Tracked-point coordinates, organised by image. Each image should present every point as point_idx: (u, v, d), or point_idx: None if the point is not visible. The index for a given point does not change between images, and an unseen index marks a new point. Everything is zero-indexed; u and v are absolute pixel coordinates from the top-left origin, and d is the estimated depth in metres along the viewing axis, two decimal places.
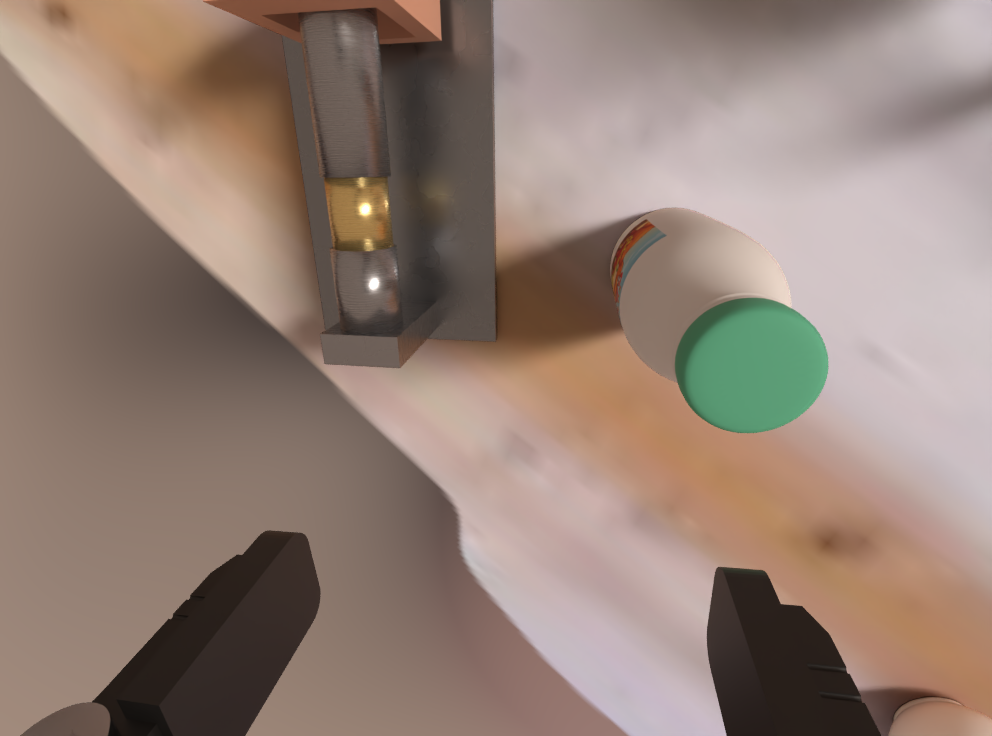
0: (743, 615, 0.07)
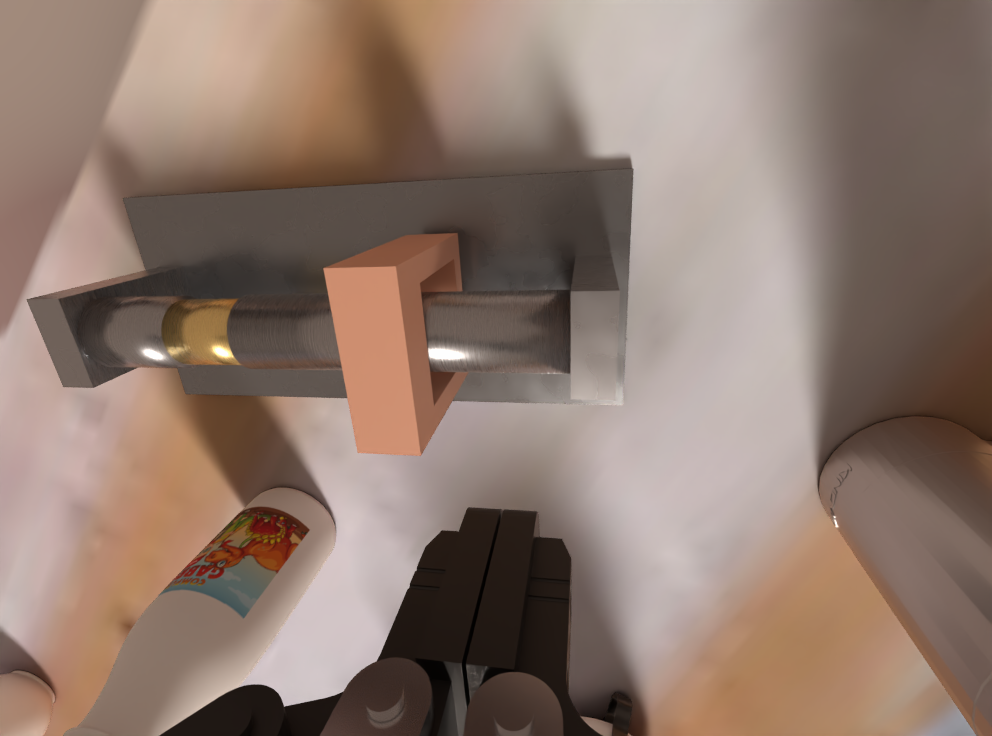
0: (500, 542, 0.09)
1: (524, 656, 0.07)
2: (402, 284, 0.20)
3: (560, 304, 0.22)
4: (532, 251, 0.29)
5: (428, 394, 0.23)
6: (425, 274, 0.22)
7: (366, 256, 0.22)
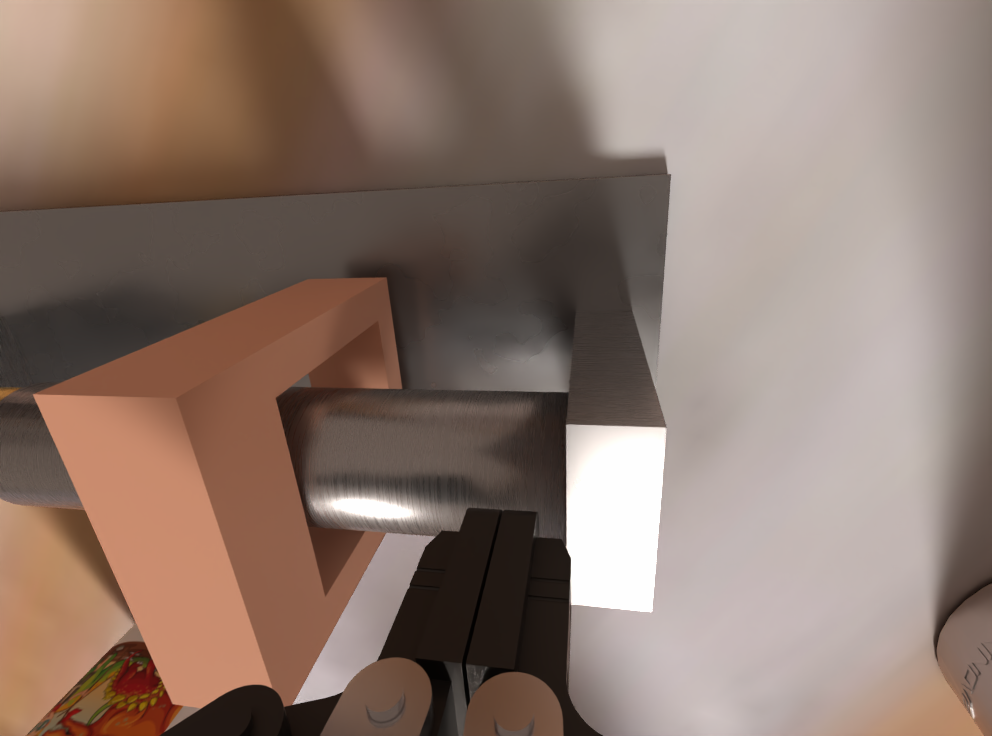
0: (500, 542, 0.09)
1: (524, 656, 0.07)
2: (208, 426, 0.09)
3: (546, 433, 0.12)
4: (508, 303, 0.18)
5: (307, 590, 0.13)
6: (293, 375, 0.12)
7: (172, 346, 0.11)
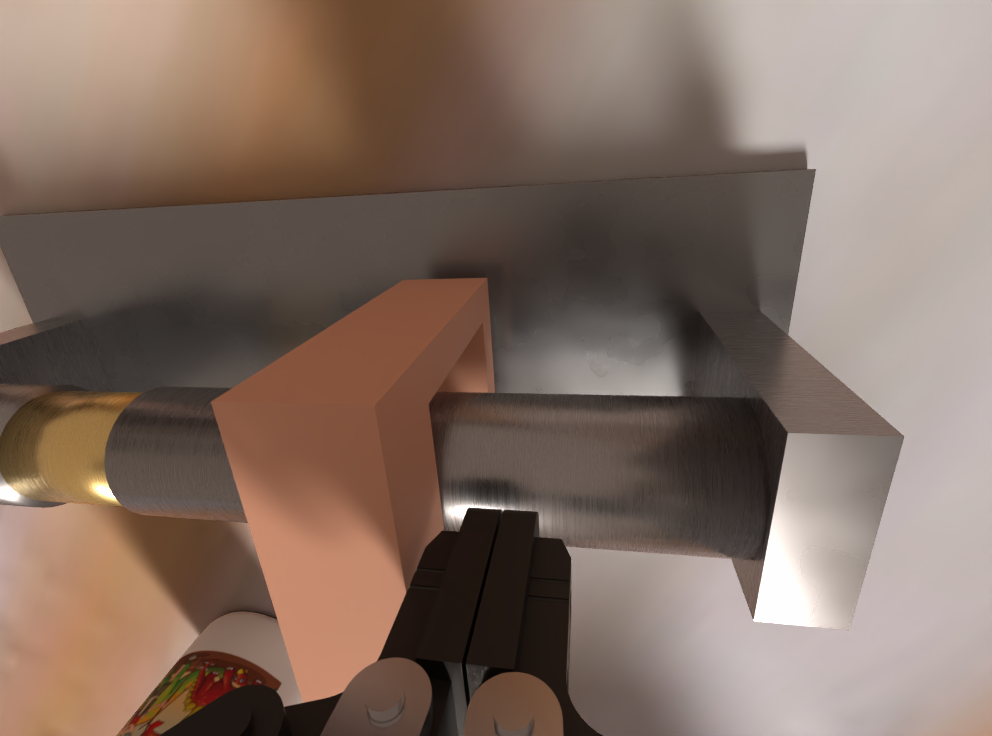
0: (500, 542, 0.09)
1: (524, 656, 0.07)
2: (391, 435, 0.09)
3: (739, 442, 0.11)
4: (627, 304, 0.18)
5: None
6: (438, 380, 0.11)
7: (320, 350, 0.11)
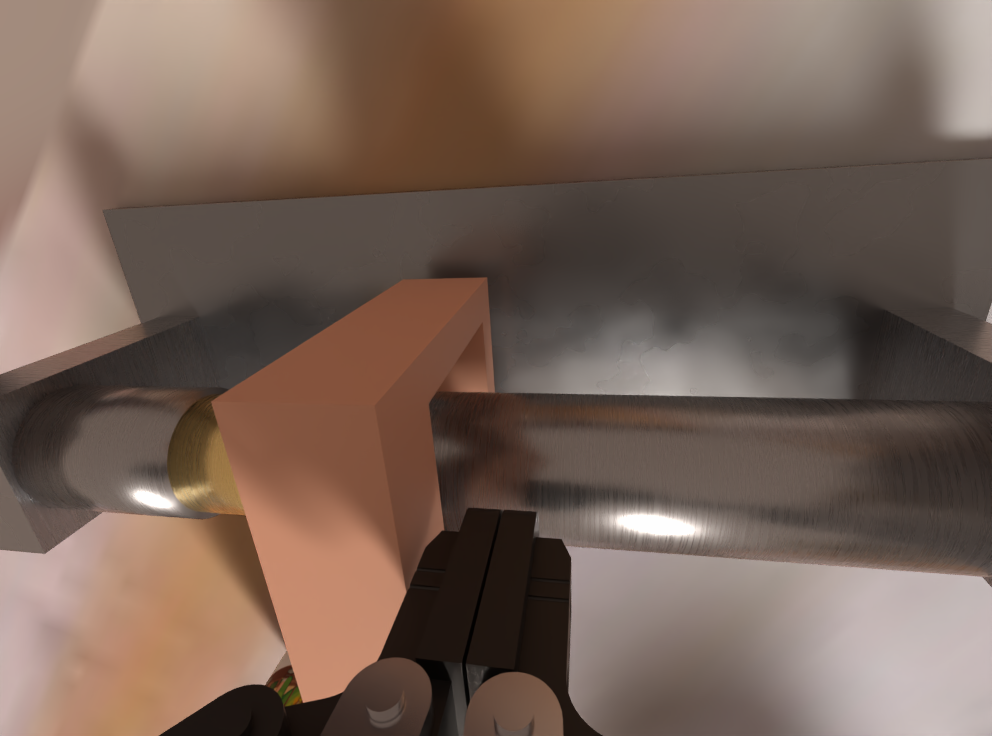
0: (500, 542, 0.09)
1: (524, 656, 0.07)
2: (391, 434, 0.09)
3: None
4: (804, 301, 0.17)
5: None
6: (438, 380, 0.11)
7: (320, 350, 0.11)
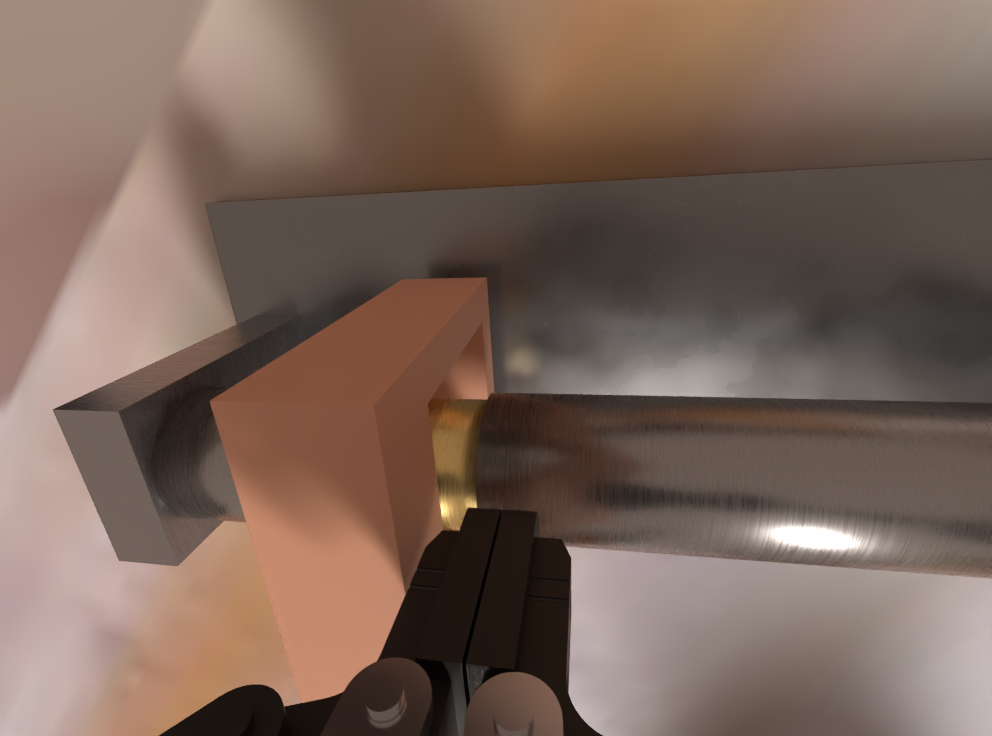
0: (500, 542, 0.09)
1: (524, 656, 0.07)
2: (391, 434, 0.09)
3: None
4: (965, 300, 0.16)
5: None
6: (437, 379, 0.11)
7: (319, 350, 0.11)
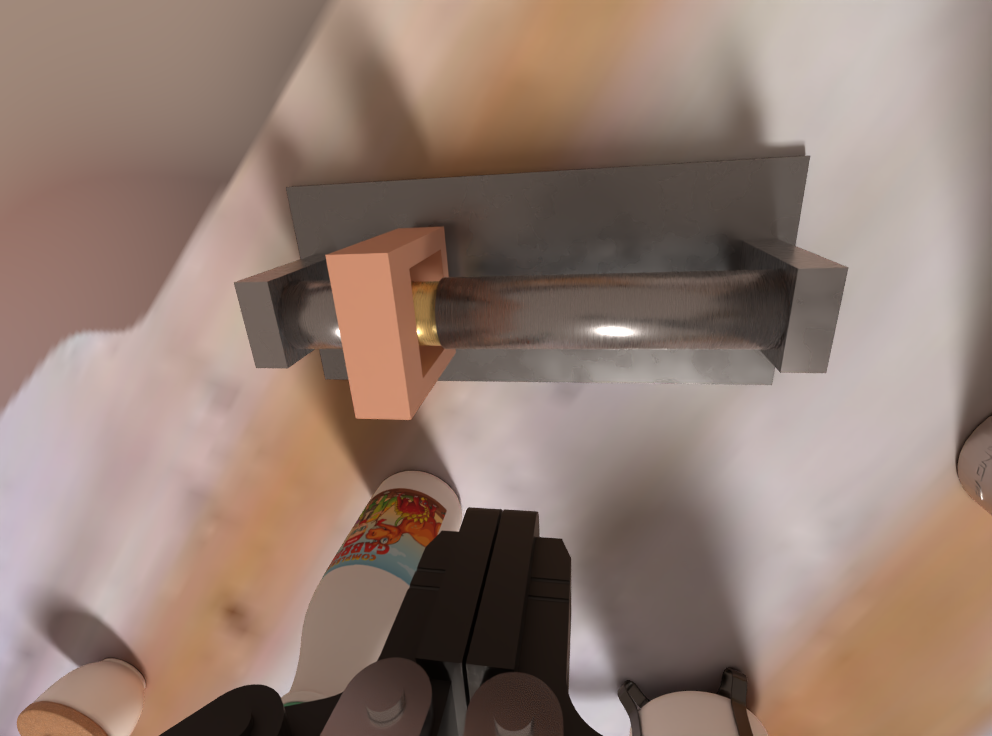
0: (500, 542, 0.09)
1: (524, 656, 0.07)
2: (393, 269, 0.23)
3: (774, 282, 0.23)
4: (698, 236, 0.30)
5: (417, 368, 0.26)
6: (413, 261, 0.25)
7: (362, 245, 0.25)
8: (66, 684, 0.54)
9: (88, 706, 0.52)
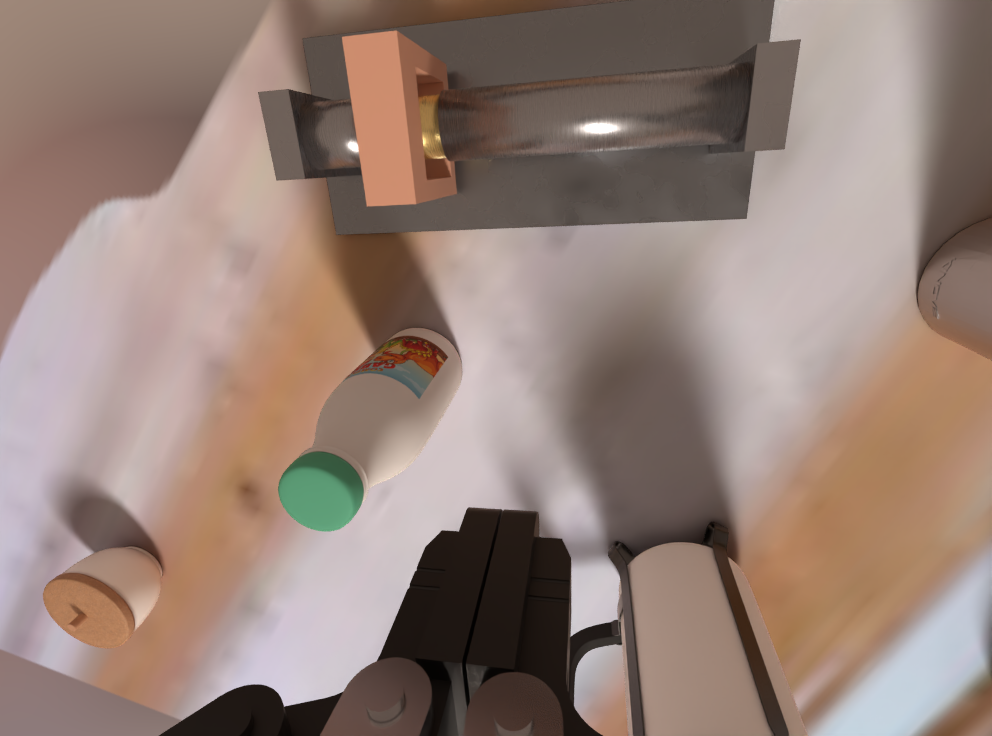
0: (500, 542, 0.09)
1: (524, 656, 0.07)
2: (401, 50, 0.26)
3: (738, 67, 0.26)
4: None
5: (421, 164, 0.29)
6: (419, 65, 0.29)
7: None
8: (89, 560, 0.57)
9: (110, 578, 0.56)
